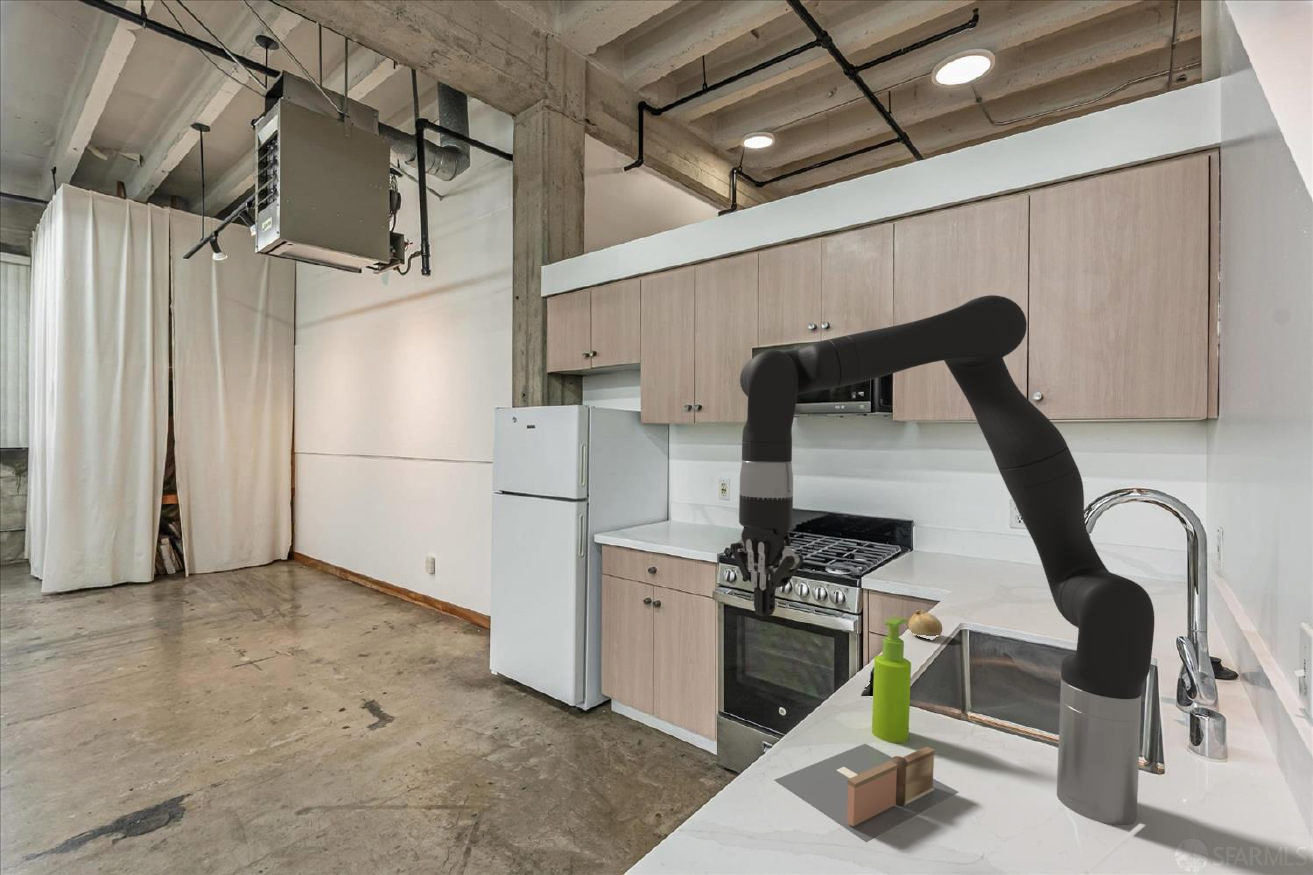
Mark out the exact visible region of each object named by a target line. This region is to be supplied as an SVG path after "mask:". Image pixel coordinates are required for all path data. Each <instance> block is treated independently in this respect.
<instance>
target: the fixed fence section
mask: <svg viewBox="0 0 1313 875" xmlns="http://www.w3.org/2000/svg"><path fill="white" fill-rule="evenodd" d="M935 754H936V749H934V748H932V747H929V746H925V747H922V748H920V749H918V750H916V751H914V752H911V753H909V754H906V755H905V756H899V755H895V756H892V758H893V763H895V764H897V765H898V769H897V779H896V805H897V806H904V805H905V802H906V801H908V800H910V799H911V798H913V797H915V796H917V795H919V794H921V793H923V792H925V791H927V790H929V789H931V788H933V779H934V765H935V764H934V763H935V762H934V761H935V760H934V759H935Z"/></svg>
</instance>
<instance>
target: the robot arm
mask: <svg viewBox="0 0 1313 875" xmlns="http://www.w3.org/2000/svg"><path fill="white" fill-rule="evenodd" d="M1027 326H1028V324H1027V319H1026V315H1025V312H1024V311H1023V309H1022V308H1021V307H1020V305H1018V303H1016V302H1015V301H1013V300H1012V299H1011V298H1007V297H1006V296H1001V295H996V294H995V295H993V294H991V295H990V294H989V295H983V296H979V297H976V298H973V299H971V300H969V301H967V302H965V303H963V304H962V305H959V306H958V307H955V308H952V309H950V310H947V311H945V312H942V313H938V314H935V315H932V316H929V317H925V318H922V319H918V320H914V321H911V322H906V323H902V324H897V325H892V326H887V327H883V328H876V329H872V330H871V329H870V330H867V331H862V332H857V333H852V334H847V335H842V336H839V337H833V338H827V339H824V340H819V341H817V342H815V343H812V344H809V345H807V346H805V347H801V348H796V349H792V350H787V351H780V350H777V349H776V350H775V349H769V350H765V351H762V352H760V353H758V354H757V355H756V356H754V357H752V358H751V359H749V360H748V361H747V362H746V363H745V365H743V368H742V369H741V372H740V376H739V383H740V388H741V390H742V392H743V393H744V394H745V395H746V397H747V415H746V416H747V418H746V421H745V424H744V425H743V430H742V436H741V437H742V440H741V460H742V461H741V467H740V473H739V491H738V492H739V493H738V494H739V496H738V498H739V500H738V501H739V502H738V504H739V505H738V506H739V507H738V508H739V509H738V512H739V513H738V523H739V524H740V525H741V526H742V527H743V529H742V531H741V539H740V540H739V541H737V542H733V543H730V548H729V549H730V551H731V553H732V556H733V558H734V559H735V560H734V561H735V562H736V564H737V566H738V569H739V571H740V573H741V576H742V577H743V580H744V581H746V582H747V581H749V582H750V583H751V586H752V588H753V607H754V613H755V614H756V615H758V616H761V617H768V616H772V615H773V614H774V612H775V610H776V589H777V588H782V587H786V586H788V584H789V582H790V581H791V580H792V578H793V577H794V575H795V574H796V573H797V571H798V570H799V568H800V567H801V565H802V564H803V563H804V557H803V556H804V555H802V554H800V553H799V554H796V553H795V552H794V550H793V549H792V548H791V545H792V544H791V543H792V542H791V538H790V534H789V530H790V529H791V527H792V526H793V523H794V522H793V520H794V519H793V518H794V516H793V514H794V512H793V511H794V510H793V509H794V502H793V500H794V474H793V473H794V472H793V465H792V464H793V463H792V460H793V435H792V434H793V432H792V429H793V428H792V427H793V422H794V418H795V412H796V407H797V406H796V405H797V401H798V400H797V399H798V395H803V394H807V393H809V392H814V391H824V390H832V389H836V388H837V389H838V388H843V387H845V386H850V385H851V386H852V385H855V384H856V385H857V384H860V383H864V382H867V381H872V380H875V379H880V378H882V377H885V376H889V375H892V374H895V373H898V372H902V371H905V370H907V369H911V368H915V367H920V366H922V365H927V364H931V363H937V362H942V361H944V364H946V367H947V368H948V369H949V371H950V373H951V374H952V377H953V378H954V380H955V381H956V383H957V385H958V386H959V388H960V390H961V392H962V393H963V396H965V398H966V400H967V402H968V404H969V407H970V408H971V411H972V412H973V415H974V416H975V419H976V421H977V423H978V426H979V428H980V431H981V433H982V434H983V436H984V438H985V440H986V444H987V445H988V448H989V450H990V451H991V454H992V456H993V459H994V461H995V463H996V466H997V468H998V471H999V474H1000V475H1001V478H1002V480H1003V482H1004V484H1005V487H1006V488H1007V490H1008V492H1009V494H1010V496H1011V498H1012V500H1013V502H1014V504H1015V506H1016V509H1017V511H1018V513H1019V515H1020V516H1021V519H1022V522H1023V524H1024V526H1025V527H1026V529H1027V531H1028V534H1029V536H1030V537H1031V539H1032V542H1033V543H1034V546H1035V548H1036V550H1037V553H1038V556H1039V558H1040V559H1039V560H1040V562H1041V564H1042V567H1043V571H1044V574H1045V578H1046V580H1047V584H1048V587H1049V590H1050V593H1051V596H1052V599H1053V602H1054V604H1055V607H1056V608H1057V610H1058V612H1059V613H1060V615H1062V617H1063V618H1064V619H1065V621H1067V622H1069V623H1070V624H1071V625H1072V626H1074V627H1076V628H1078V631H1077V633H1078V634H1077V643H1076V650H1075V654H1070V655H1067V656H1066V657H1064V658H1063V659H1062V661H1061V669H1060V670H1061V671H1060V693H1059V694H1060V695H1059V700H1060V701H1059V720H1058V721H1059V723H1058V724H1059V725H1058V748H1057V750H1058V751H1057V752H1058V753H1057V754H1058V755H1057V774H1056V776H1057V777H1056V796H1057V798H1058V800H1059V802H1060V803H1061V804H1062V805H1064V806H1065V807H1066V808H1068V810H1070V811H1072V812H1074V813H1076V814H1077V815H1080V816H1082V817H1084V818H1086V819H1089V820H1091V821H1095V822H1098V823H1102V824H1104V825H1105V824H1107V825H1110V826H1111V825H1112V826H1120V827H1121V826H1123V827H1125V826H1130V825H1133V824H1134V823H1136V822H1137V816H1138V792H1139V772H1140V771H1139V770H1140V769H1139V768H1140V766H1139V765H1140V742H1141V740H1140V738H1141V737H1140V736H1141V720H1142V719H1141V715H1142V714H1141V711H1142V710H1141V709H1142V693H1143V692H1142V691H1143V690H1142V689H1143V684H1144V682H1145V681H1146V679H1147V678H1148V676H1149V673H1150V672H1151V670H1150V669H1151V665H1152V664H1151V663H1152V654H1153V644H1154V637H1155V636H1154V634H1155V611H1154V610H1155V609H1154V605H1153V601H1152V599H1151V597H1150V595H1149V593H1148V592H1147V591H1146V590H1145V589H1144V587H1142V586H1141V585H1140V584H1138V583H1137V582H1135V581H1133V580H1131V579H1129V578H1126V577H1123V576H1122V575H1119V574H1117V573H1114V572H1111V571H1109V569H1108V568H1107V567H1106V565H1105V564H1104V563H1103V562H1104V561H1102V559H1101V557H1100V555H1099V553H1098V551H1097V550H1096V547H1095V546H1094V544H1093V542H1092V540H1091V537H1090V535H1089V533H1088V532H1089V531H1088V530H1087V526H1086V522H1085V520H1086V519H1085V494H1084V493H1085V492H1084V490H1085V489H1084V484H1083V483H1084V482H1083V480H1082V476H1081V473H1080V470H1079V468H1078V465H1077V463H1076V461H1075V458H1074V456H1073V454H1072V453H1071V450H1070V448H1069V446H1068V444H1067V441H1066V439H1065V438H1064V436H1063V434H1062V433H1061V432H1060V430H1059V429H1058V427H1056V425H1054V423H1053V422H1052V421H1051V420H1050V419H1049V418H1048V417H1047V416H1046V415H1045V414H1044V413H1043V412H1042V411H1041V410H1040V409H1039V408H1037V407H1036V406H1035V405H1034V403H1032V402H1031V401H1030V400H1029V399H1028V398H1027V397H1026V396H1025V395H1024V394H1023V392H1022V391H1021V390H1020V389H1019V387H1018V386H1017V385H1016V383H1015V381H1014V380H1013V377H1012V376H1011V374H1010V372H1009V369H1008V366H1007V364H1006V363H1005V360H1004V357H1006V356H1008V355H1010V354H1011V353H1013V352H1014V351H1015V350H1017V348H1018V347H1019V346H1020V345H1021V343H1022V342H1023V340H1024V338H1025V337H1026V334H1027V333H1026V332H1027V328H1028V327H1027Z"/></svg>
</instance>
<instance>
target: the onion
mask: <svg viewBox="0 0 1313 875" xmlns="http://www.w3.org/2000/svg"><path fill="white" fill-rule="evenodd" d="M908 630H909V631H910V630H911V632H912V633H914V634H917V635H926V636H936V635H940V636H941V635H942V633H943V625H942V622H941V620H939V619H938V617H936V615H934V614H932V613H929V612H927V611H926V610H924V609H916V610H915V612H914V614H913V615H912V616H911V617H910V619H909V620H908ZM911 632H910V633H911ZM912 633H911V634H912Z"/></svg>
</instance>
